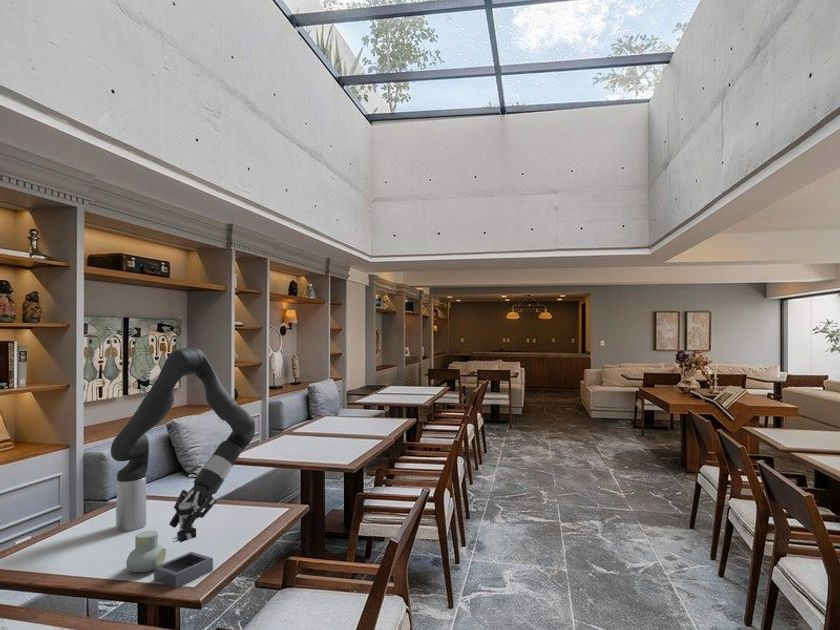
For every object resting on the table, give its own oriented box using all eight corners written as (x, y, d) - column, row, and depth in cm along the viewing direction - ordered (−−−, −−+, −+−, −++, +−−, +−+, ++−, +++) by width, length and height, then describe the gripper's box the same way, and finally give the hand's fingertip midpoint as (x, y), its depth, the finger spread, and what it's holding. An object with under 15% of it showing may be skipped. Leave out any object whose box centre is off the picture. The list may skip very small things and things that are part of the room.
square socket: (153, 580, 145) (153, 567, 145) (191, 563, 155) (191, 551, 155) (175, 588, 140) (175, 575, 140) (212, 570, 150) (212, 558, 150)
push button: (178, 546, 143) (177, 509, 144) (167, 542, 146) (167, 506, 147) (200, 537, 149) (199, 502, 149) (189, 534, 152) (189, 499, 152)
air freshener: (153, 576, 147) (153, 540, 148) (123, 577, 147) (123, 542, 147) (168, 559, 158) (168, 526, 158) (140, 560, 157) (140, 527, 158)
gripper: (190, 464, 158) (153, 517, 147) (221, 470, 151) (185, 526, 140) (205, 477, 163) (170, 529, 152) (236, 483, 155) (202, 538, 145)
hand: (178, 527), depth 146 cm, fingers closed on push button, 4 cm apart
